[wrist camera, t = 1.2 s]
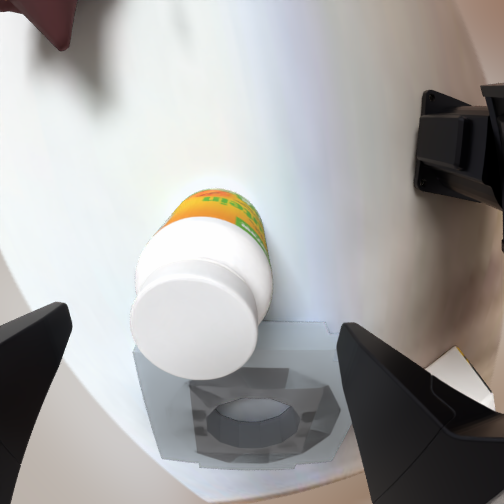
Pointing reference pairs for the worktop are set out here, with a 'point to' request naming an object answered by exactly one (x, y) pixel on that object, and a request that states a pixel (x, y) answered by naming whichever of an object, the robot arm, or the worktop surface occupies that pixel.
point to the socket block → (254, 386)
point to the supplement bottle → (203, 287)
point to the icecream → (47, 17)
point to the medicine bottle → (462, 376)
